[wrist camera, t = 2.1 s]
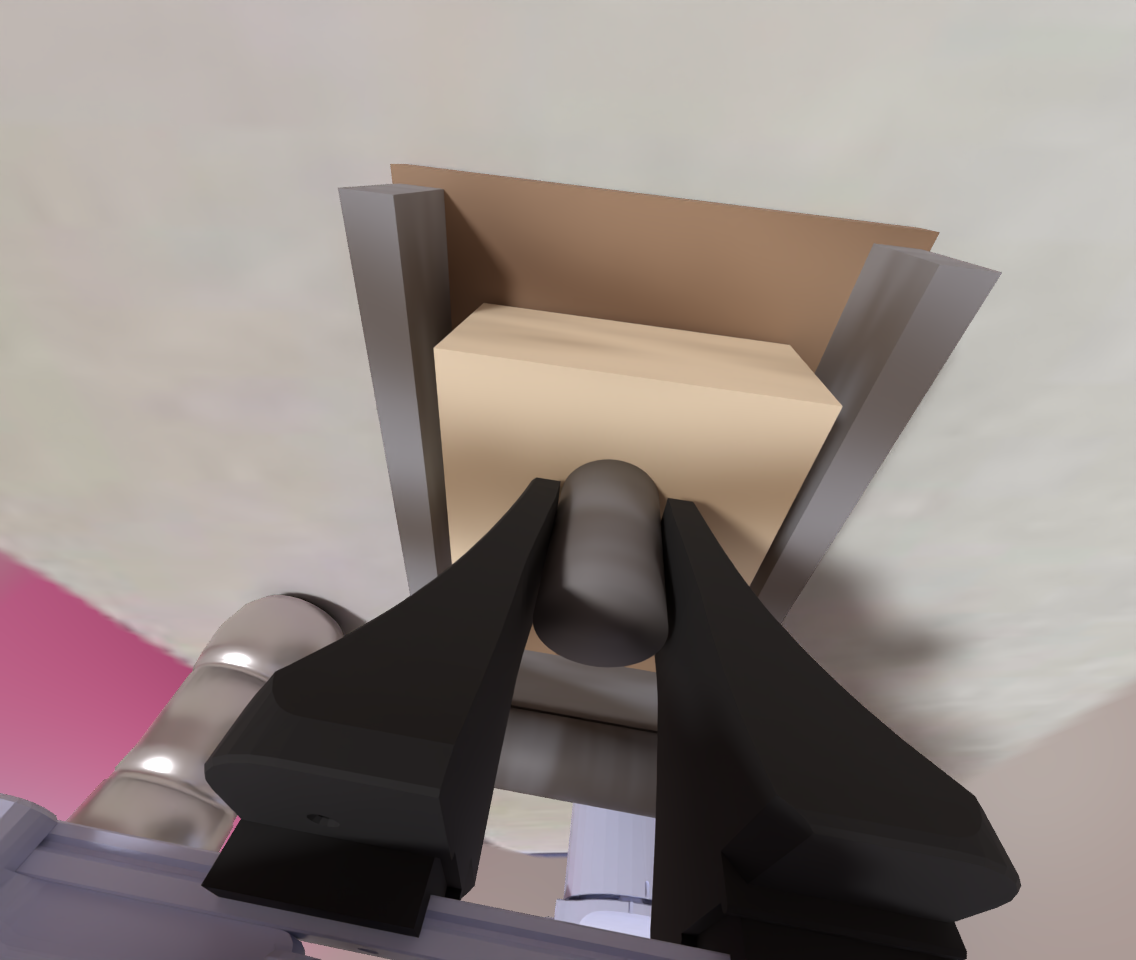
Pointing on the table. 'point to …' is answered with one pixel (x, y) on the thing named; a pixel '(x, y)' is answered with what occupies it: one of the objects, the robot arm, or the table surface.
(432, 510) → the bay
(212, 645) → the plastic bottle
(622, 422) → the tan wooden block
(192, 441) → the table surface
